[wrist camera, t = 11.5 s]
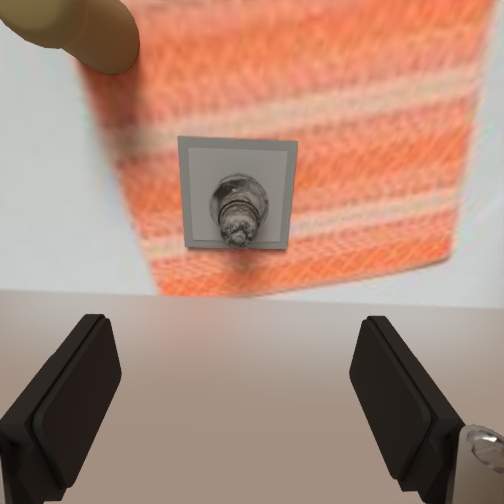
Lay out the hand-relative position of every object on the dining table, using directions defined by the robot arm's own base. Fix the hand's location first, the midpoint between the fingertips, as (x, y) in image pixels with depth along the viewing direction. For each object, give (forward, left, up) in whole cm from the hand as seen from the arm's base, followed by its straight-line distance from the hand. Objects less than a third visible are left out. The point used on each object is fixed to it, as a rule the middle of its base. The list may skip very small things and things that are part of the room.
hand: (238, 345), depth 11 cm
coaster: (0, 0, -23) cm, 23 cm away
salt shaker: (0, 0, -22) cm, 22 cm away
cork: (+12, -14, -24) cm, 30 cm away
